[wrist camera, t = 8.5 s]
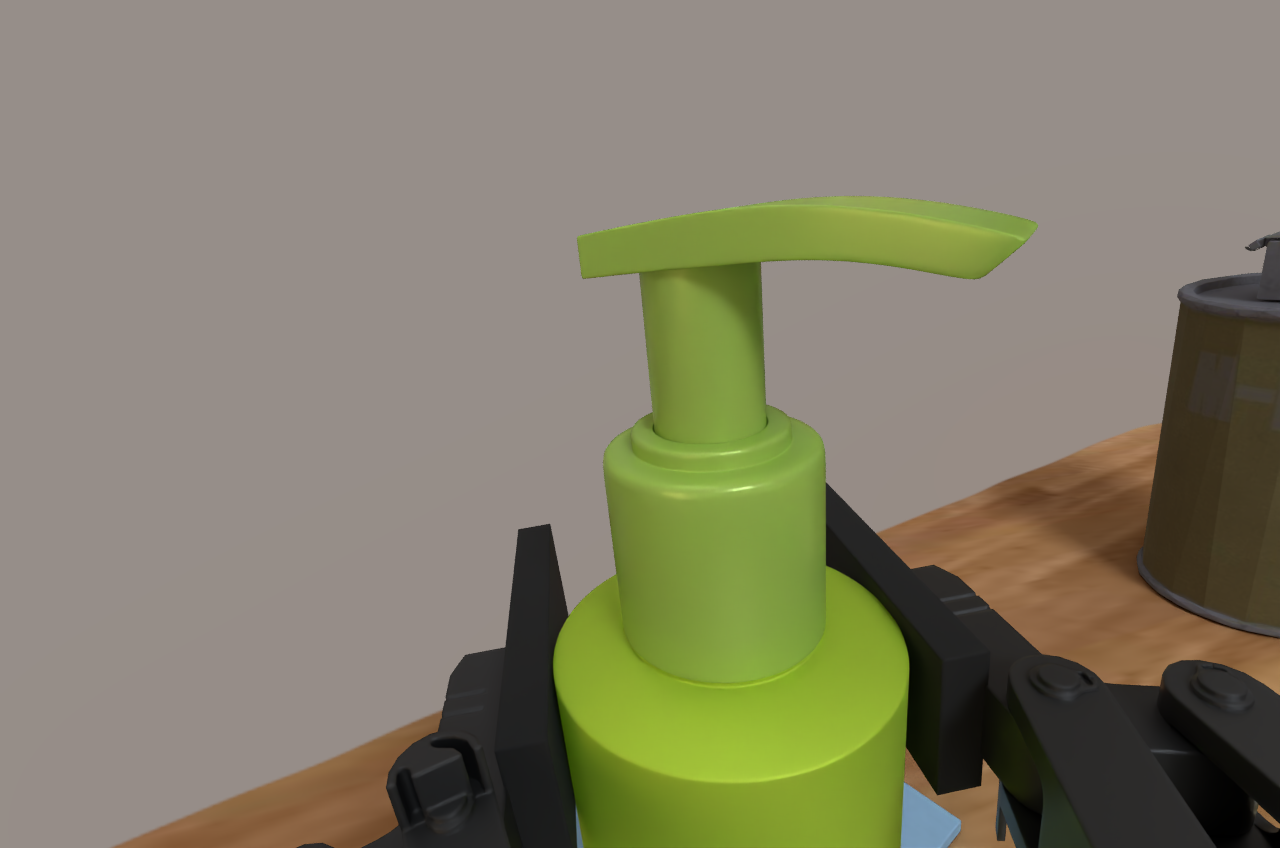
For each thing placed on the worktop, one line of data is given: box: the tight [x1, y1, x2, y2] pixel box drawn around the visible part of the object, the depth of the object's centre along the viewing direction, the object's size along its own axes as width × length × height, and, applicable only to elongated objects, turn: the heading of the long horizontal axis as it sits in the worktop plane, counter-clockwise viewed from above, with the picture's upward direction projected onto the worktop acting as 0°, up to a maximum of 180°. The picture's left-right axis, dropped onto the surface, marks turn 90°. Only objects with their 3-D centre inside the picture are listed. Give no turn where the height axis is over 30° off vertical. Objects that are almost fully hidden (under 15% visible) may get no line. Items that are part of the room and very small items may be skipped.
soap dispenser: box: [553, 196, 1038, 848], centre depth 12 cm, size 6×7×20 cm
